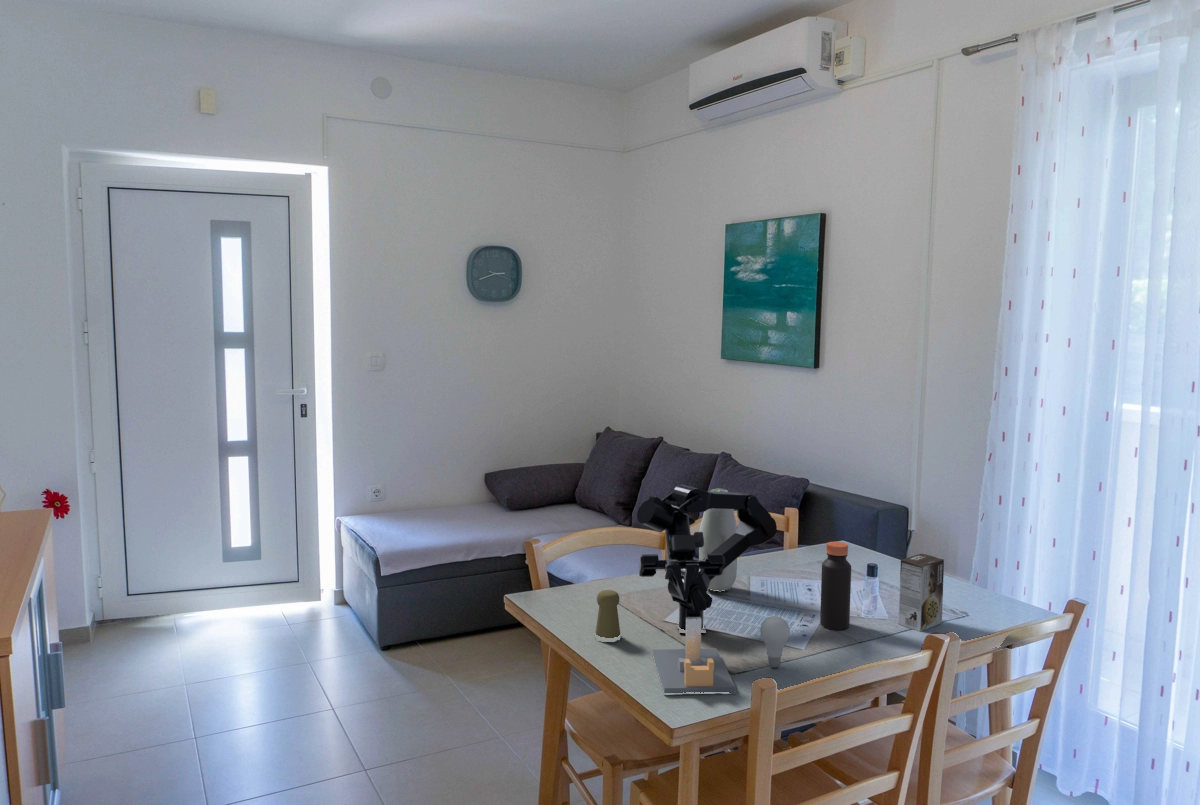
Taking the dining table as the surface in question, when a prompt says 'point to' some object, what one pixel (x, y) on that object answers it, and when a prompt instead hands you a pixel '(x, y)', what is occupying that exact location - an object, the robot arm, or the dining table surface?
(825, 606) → the black water bottle
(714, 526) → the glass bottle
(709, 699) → the dining table surface
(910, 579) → the coffee box
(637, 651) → the dining table surface
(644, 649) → the dining table surface
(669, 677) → the base plate
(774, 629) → the lightbulb
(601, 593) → the cork
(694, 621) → the bar
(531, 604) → the dining table surface
